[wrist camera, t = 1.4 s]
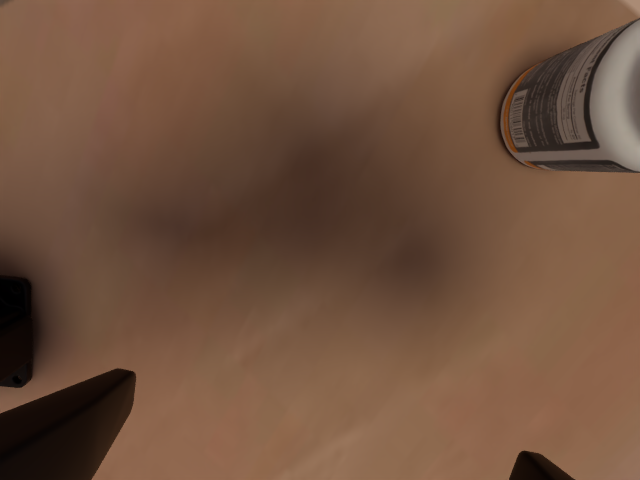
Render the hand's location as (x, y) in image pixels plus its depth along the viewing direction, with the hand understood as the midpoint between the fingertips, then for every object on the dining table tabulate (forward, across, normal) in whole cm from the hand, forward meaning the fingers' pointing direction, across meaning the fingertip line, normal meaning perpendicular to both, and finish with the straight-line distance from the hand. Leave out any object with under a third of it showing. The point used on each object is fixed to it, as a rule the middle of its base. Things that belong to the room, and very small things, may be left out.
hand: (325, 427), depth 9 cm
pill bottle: (+14, -10, -10) cm, 20 cm away
